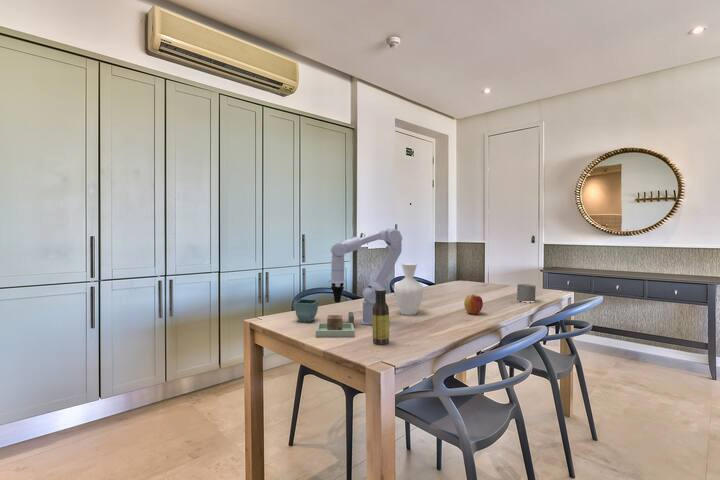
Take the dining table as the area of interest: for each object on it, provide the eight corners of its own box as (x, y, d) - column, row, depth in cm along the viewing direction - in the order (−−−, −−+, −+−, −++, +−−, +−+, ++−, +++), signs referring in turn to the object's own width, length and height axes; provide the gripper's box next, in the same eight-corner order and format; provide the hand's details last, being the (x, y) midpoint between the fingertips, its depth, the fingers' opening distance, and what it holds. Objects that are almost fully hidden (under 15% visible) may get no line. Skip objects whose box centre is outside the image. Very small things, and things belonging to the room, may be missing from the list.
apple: (473, 316, 182) (473, 296, 182) (459, 312, 190) (460, 293, 190) (486, 314, 187) (486, 295, 186) (472, 311, 195) (473, 292, 194)
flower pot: (312, 323, 165) (312, 303, 164) (293, 322, 166) (294, 302, 166) (318, 319, 173) (319, 300, 173) (300, 317, 175) (301, 299, 175)
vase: (403, 309, 197) (403, 262, 196) (427, 313, 189) (428, 264, 188) (389, 313, 185) (389, 264, 185) (414, 318, 177) (415, 266, 176)
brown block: (342, 329, 154) (342, 315, 154) (342, 333, 148) (342, 318, 148) (327, 329, 153) (327, 315, 153) (327, 333, 147) (327, 318, 147)
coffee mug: (528, 304, 216) (528, 286, 215) (513, 301, 224) (513, 284, 224) (542, 301, 223) (542, 285, 222) (527, 299, 231) (527, 283, 231)
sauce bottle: (392, 341, 140) (392, 289, 139) (383, 346, 134) (384, 291, 134) (377, 338, 143) (378, 287, 143) (368, 342, 138) (369, 289, 137)
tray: (352, 328, 157) (352, 322, 157) (354, 337, 145) (354, 330, 145) (317, 328, 156) (317, 323, 156) (315, 337, 144) (315, 330, 144)
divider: (352, 323, 167) (353, 311, 167) (353, 328, 158) (354, 316, 158) (348, 323, 167) (348, 311, 166) (349, 328, 158) (349, 316, 158)
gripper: (329, 268, 171) (328, 297, 171) (328, 271, 156) (327, 303, 157) (344, 268, 171) (343, 297, 172) (345, 272, 157) (344, 304, 157)
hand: (337, 300), depth 164 cm, fingers open, 7 cm apart
